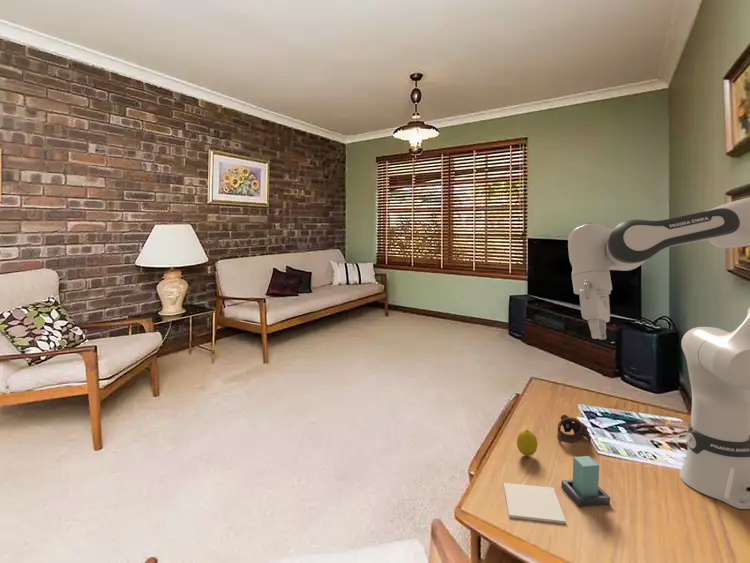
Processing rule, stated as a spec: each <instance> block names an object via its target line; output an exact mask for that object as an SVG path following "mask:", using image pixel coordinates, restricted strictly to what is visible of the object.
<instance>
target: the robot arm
mask: <svg viewBox="0 0 750 563" xmlns="http://www.w3.org/2000/svg"><path fill="white" fill-rule="evenodd" d="M702 241H708V243H710V244H711V245H712V246H715V247H717V248H719V249H733V248H741V247H742V248H743V247H749V246H750V196H749V197H744V198H741V199H737V200H734V201H730V202H728V203H723V204H721V205H719V206H716V207H713V208H711V209H708V210H705V211H701V212H695V213H690V214H685V215H682V216H676V217H672V218H668V219H662V220H647V219H630V220H625V221H623V222H621V223H619V224H618V225H617V226H615V227H614V228H613V229H611V228H608V227H605V226H603V225H601V224H599V223H597V222H589V223H585V224H582V225H579V226H577V227H576V228H574V229H573V230H572V231H571V232H570V234H569V235H568V238H567V242H568V243H567V248H568V251H567V252H568V259H569V263H570V265H571V268H572V269H571V270H572V271H571V281H572V282H571V283H572V288H573V294H575V295H578V296H579V305H580V306H579V307H580V314H581V318H582V319H583V320H586V321H587V323H588V327H589V330H590V334H591V338H592V339H596V340H597V339H598V340H599V341H601V340H606V339H607V333H606V332H607V324H606V323H609V322H610V319H611V307H610V295H611V293H612V290H613V285H612V280H611V279H612V278H611V272H610V271H623V272H624V271H625V272H626V271H633V270H635V269H637V268H638V267H640V266H641V265H643V264H644V263H645V262H646V261H647V260H649V259H650V258H652V257H654V256H655V255H656V254H657V253H658V252H661V251H662V250H665V249H667V248H672V247H676V246H681V245H686V244H691V243H695V242H702ZM680 342H681V350H682V351H683V353H684V356H685V359H686V364H687V371H688V378H689V382H690V388H691V415H690V422H689V423H688V427H687V438H686V440H687V441H686V442H687V444H686V445H687V450H686V455H685V457H684V462H683V465H682V467H681V469H680V470H679V472H678V474H679V475H678V476H679V478H680V480H682V481H683V482H684V483H685V484H686V485H687V486H689V487H690V488H691V489H693V490H695V491H697V492H699V493H701V494H704V495H706V496H708V497H711V498H713V499H716V500H719V501H722V502H723V503H725V504H727V505H728V506H732V507H733V508H736V509H739V510H740V509H741V510H750V400H749V398H748V396H747V393H746V391H745V390H747V391H750V306H749V307H748V309H747V311H746V317H745V318H744V320H743V321H742V322H741V323H740V325H739V326H738V327H736V329H735V330H733V331H730V332H729V331H726V330H725V329H722V328H719V327H712V326H697V327H693V328H691V329H689V330H688V331H686V332H685V333H684V335H683V336H682V338H681V341H680Z"/></svg>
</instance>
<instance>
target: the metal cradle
mask: <svg viewBox="0 0 750 563" xmlns="http://www.w3.org/2000/svg"><path fill="white" fill-rule="evenodd" d="M572 487H573V479H565V480H564V479H563V480H561V488H562V489H563V491H564V492H565V493H566V495H568V497H570V498H571V500H572V501H573V502H574V503H575V504H576V505H577V506H578V508H585V507H596V506H608V505H611V497H610V496H609V495H608V494H607V493H606V492H605V490H603V489H602V488H601V487H600V485H598V496H593V497H582V498H581V497H580V496H579V495H578V494H577V493H576V492H575V491H574V490H573V489H572Z"/></svg>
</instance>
